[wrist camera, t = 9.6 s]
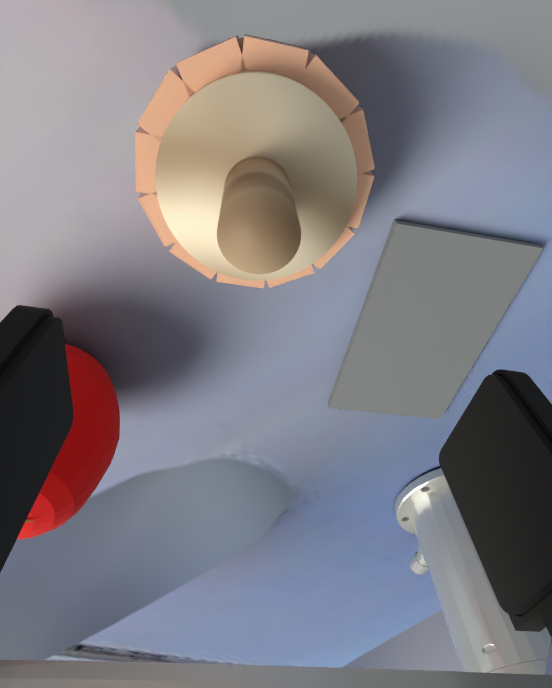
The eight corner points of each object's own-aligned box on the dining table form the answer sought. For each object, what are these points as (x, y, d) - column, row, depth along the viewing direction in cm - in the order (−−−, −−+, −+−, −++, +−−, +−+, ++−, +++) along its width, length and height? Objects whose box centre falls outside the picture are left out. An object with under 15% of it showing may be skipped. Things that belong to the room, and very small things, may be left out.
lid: (325, 280, 23) (345, 349, 18) (158, 256, 22) (131, 324, 17) (377, 94, 18) (426, 122, 13) (161, 48, 17) (124, 59, 12)
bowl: (325, 262, 28) (336, 298, 24) (152, 236, 26) (137, 271, 22) (380, 64, 21) (407, 72, 17) (155, 13, 19) (133, 10, 16)
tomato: (165, 392, 34) (129, 551, 24) (56, 432, 36) (-20, 593, 26) (71, 278, 27) (-35, 429, 17) (-55, 336, 30) (-215, 500, 19)
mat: (438, 413, 37) (440, 418, 36) (328, 402, 35) (329, 407, 35) (538, 244, 27) (543, 248, 27) (394, 219, 26) (397, 223, 25)
